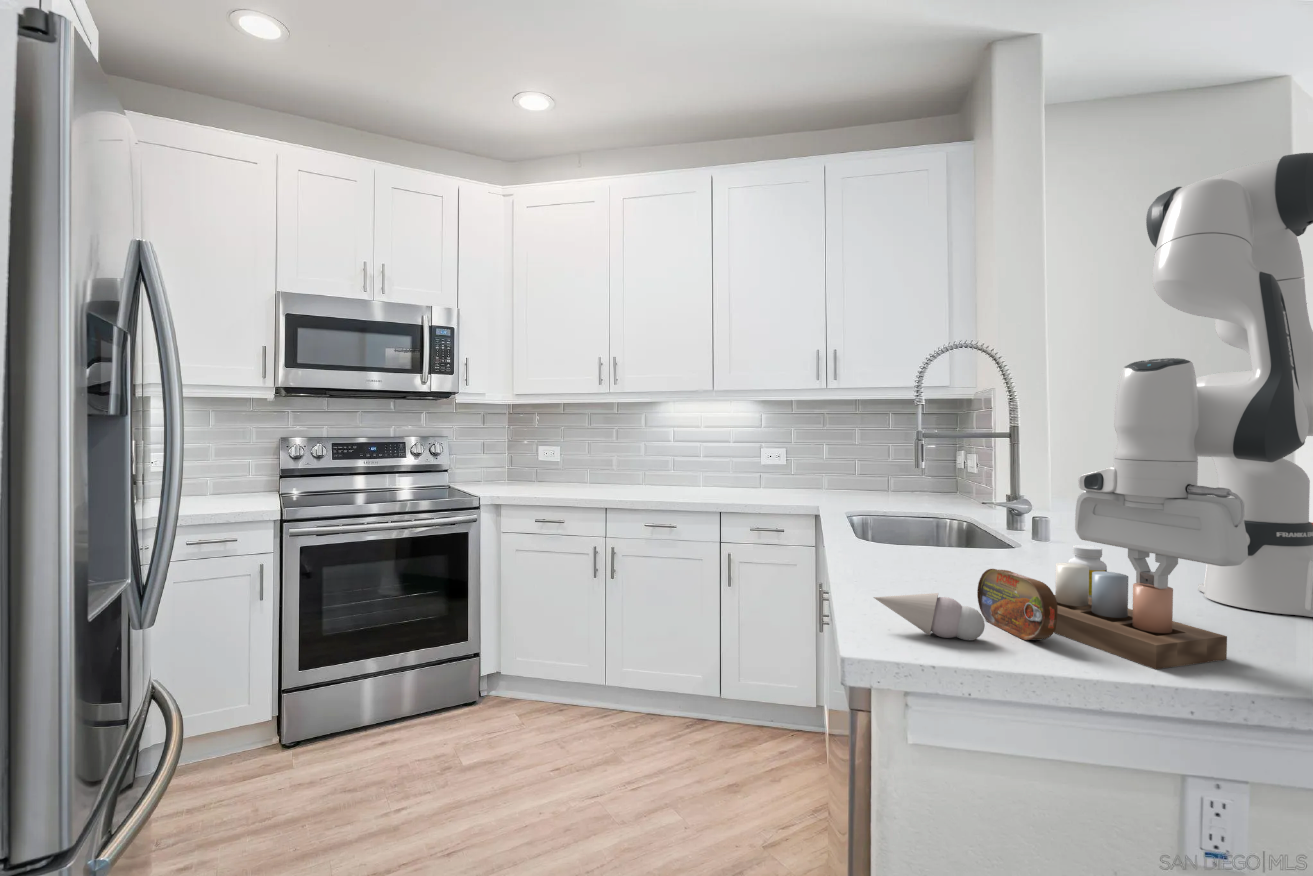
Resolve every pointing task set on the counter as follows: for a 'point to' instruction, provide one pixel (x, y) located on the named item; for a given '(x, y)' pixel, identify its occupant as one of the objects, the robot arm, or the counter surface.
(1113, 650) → the wooden spice rack
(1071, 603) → the key ivory
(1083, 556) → the supplement bottle
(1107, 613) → the key slate
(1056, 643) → the counter surface
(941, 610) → the ice cream cone
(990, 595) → the tin
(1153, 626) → the salmon pink cylinder
